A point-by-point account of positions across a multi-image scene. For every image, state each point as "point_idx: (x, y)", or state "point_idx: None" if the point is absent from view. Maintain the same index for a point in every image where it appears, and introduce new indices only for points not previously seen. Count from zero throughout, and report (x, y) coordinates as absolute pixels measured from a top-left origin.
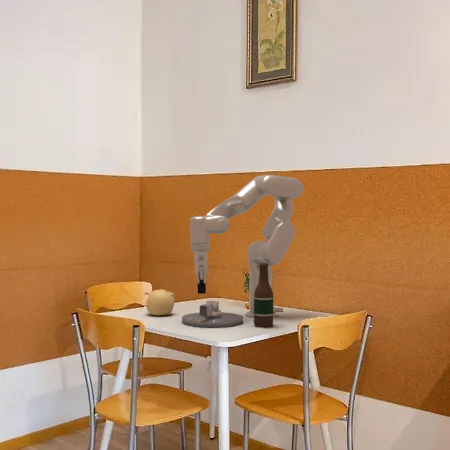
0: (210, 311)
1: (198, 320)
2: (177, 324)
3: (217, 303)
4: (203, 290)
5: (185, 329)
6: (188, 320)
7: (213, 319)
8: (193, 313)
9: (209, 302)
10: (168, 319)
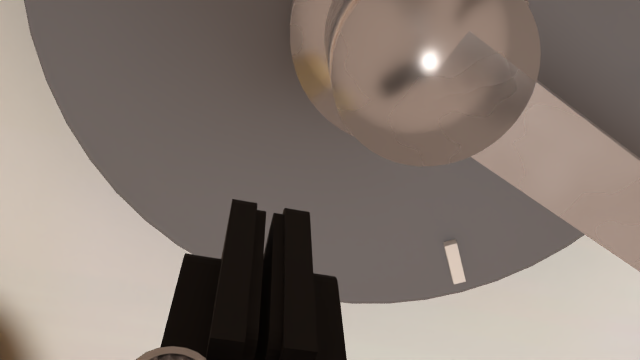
0: (591, 121)
1: (532, 205)
2: (389, 313)
3: (525, 8)
4: (337, 288)
5: (609, 298)
6: (493, 281)
7: (549, 52)
8: (109, 161)
9: (477, 133)
10: (145, 335)
